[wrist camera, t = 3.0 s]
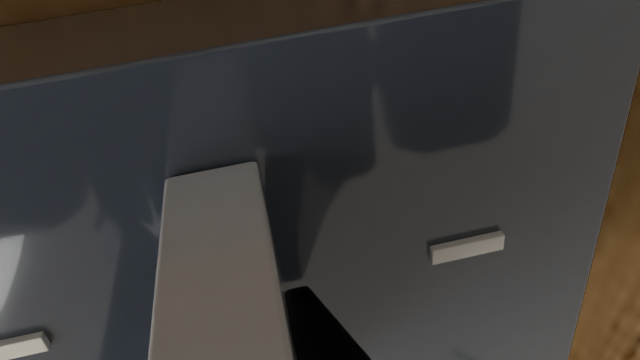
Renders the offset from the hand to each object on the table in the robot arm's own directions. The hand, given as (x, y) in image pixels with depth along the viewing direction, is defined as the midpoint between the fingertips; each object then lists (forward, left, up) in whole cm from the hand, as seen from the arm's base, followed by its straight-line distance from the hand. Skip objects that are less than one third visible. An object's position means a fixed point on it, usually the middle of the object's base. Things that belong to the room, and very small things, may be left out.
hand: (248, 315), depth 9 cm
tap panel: (0, 0, -4) cm, 4 cm away
